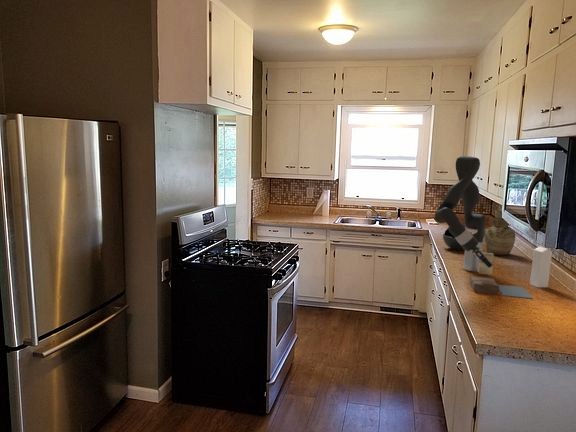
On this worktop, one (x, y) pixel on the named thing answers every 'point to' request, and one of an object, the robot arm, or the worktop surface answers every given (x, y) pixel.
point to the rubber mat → (514, 291)
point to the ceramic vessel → (499, 236)
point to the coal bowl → (451, 241)
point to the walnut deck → (484, 285)
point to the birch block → (482, 266)
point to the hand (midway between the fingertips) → (489, 265)
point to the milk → (541, 267)
